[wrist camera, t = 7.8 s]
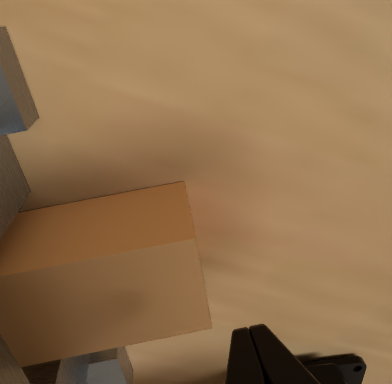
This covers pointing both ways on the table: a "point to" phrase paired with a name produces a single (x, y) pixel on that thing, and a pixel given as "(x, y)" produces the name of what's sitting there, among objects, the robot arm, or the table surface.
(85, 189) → the table surface
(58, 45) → the table surface
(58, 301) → the tan bar
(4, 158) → the mounting bracket
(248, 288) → the table surface
